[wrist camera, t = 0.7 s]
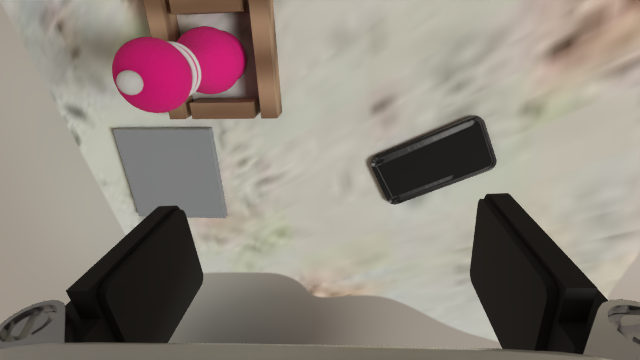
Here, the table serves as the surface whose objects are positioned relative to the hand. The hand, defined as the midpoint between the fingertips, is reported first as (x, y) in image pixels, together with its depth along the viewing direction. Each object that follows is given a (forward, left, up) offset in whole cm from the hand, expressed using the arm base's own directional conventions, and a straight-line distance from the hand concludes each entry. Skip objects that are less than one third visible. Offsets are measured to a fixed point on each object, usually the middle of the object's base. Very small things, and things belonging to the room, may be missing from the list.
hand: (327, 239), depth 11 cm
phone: (+11, +11, -35) cm, 38 cm away
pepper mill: (-3, -16, -34) cm, 38 cm away
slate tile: (+13, -26, -34) cm, 45 cm away
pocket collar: (-3, -16, -34) cm, 38 cm away
